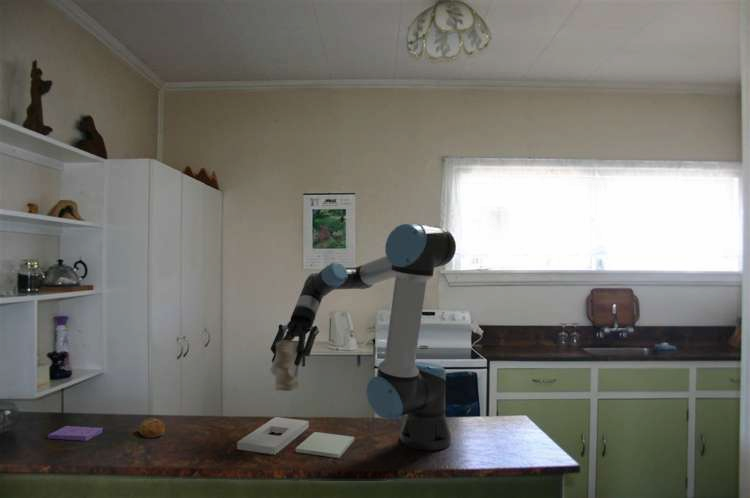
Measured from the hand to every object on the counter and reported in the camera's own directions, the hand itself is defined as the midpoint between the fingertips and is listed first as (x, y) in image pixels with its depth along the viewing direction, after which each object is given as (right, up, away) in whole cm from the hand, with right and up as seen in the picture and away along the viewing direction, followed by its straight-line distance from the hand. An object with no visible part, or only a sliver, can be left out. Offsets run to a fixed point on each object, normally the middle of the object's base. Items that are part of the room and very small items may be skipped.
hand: (281, 373), depth 131 cm
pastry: (-41, -20, +6) cm, 46 cm away
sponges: (-63, -20, +3) cm, 66 cm away
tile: (+13, -21, -2) cm, 25 cm away
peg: (+1, -5, +3) cm, 7 cm away
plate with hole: (-3, -20, +4) cm, 21 cm away
